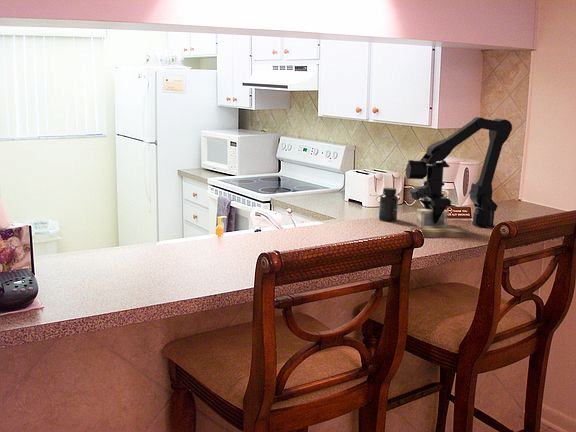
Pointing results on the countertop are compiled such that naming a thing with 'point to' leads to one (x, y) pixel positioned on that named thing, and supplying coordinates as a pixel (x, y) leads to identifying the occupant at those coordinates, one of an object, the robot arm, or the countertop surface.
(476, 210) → the robot arm
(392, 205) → the supplement bottle
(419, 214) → the ash frame block
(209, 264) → the countertop surface
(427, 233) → the notched ledge
